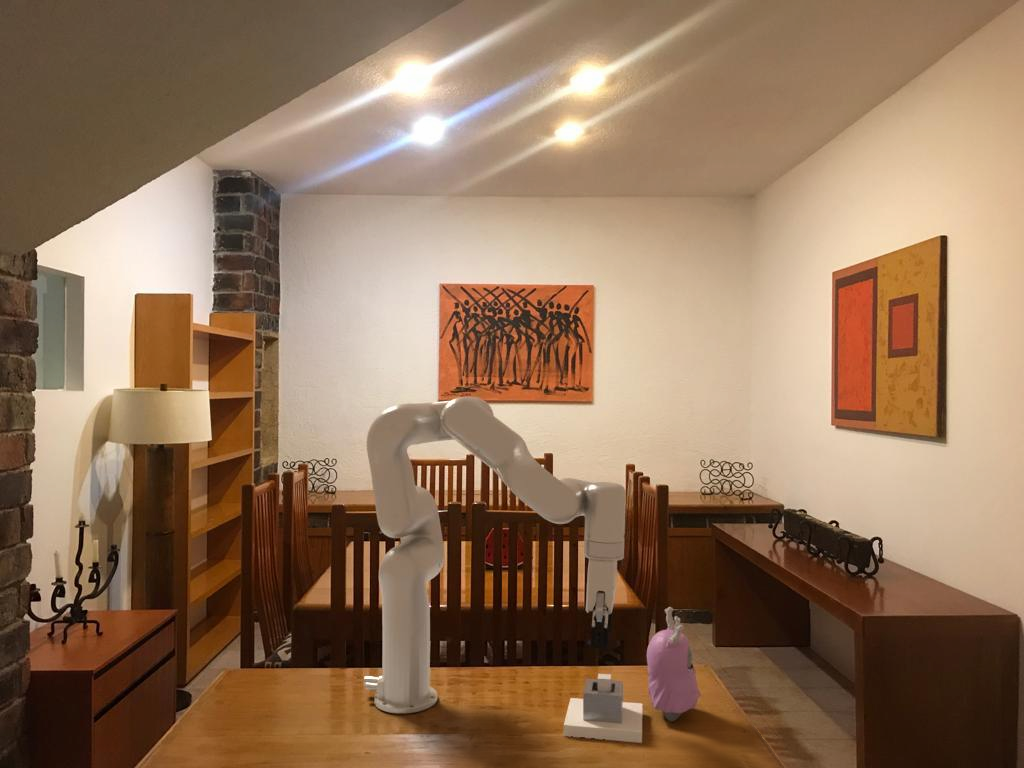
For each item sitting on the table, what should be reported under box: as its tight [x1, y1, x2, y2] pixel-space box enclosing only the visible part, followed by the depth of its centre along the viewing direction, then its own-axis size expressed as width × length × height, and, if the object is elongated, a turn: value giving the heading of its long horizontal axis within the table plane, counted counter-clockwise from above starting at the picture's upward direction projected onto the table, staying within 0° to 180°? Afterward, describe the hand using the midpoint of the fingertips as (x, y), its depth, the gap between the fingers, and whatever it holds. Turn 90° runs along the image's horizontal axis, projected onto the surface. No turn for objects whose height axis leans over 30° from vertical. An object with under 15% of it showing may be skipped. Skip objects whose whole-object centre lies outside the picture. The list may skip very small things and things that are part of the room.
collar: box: [582, 678, 624, 724], centre depth 138 cm, size 7×7×5 cm
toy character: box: [646, 606, 702, 722], centre depth 142 cm, size 12×10×20 cm
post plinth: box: [563, 673, 643, 744], centre depth 137 cm, size 14×12×9 cm
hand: (600, 639), depth 138 cm, fingers open, 9 cm apart
